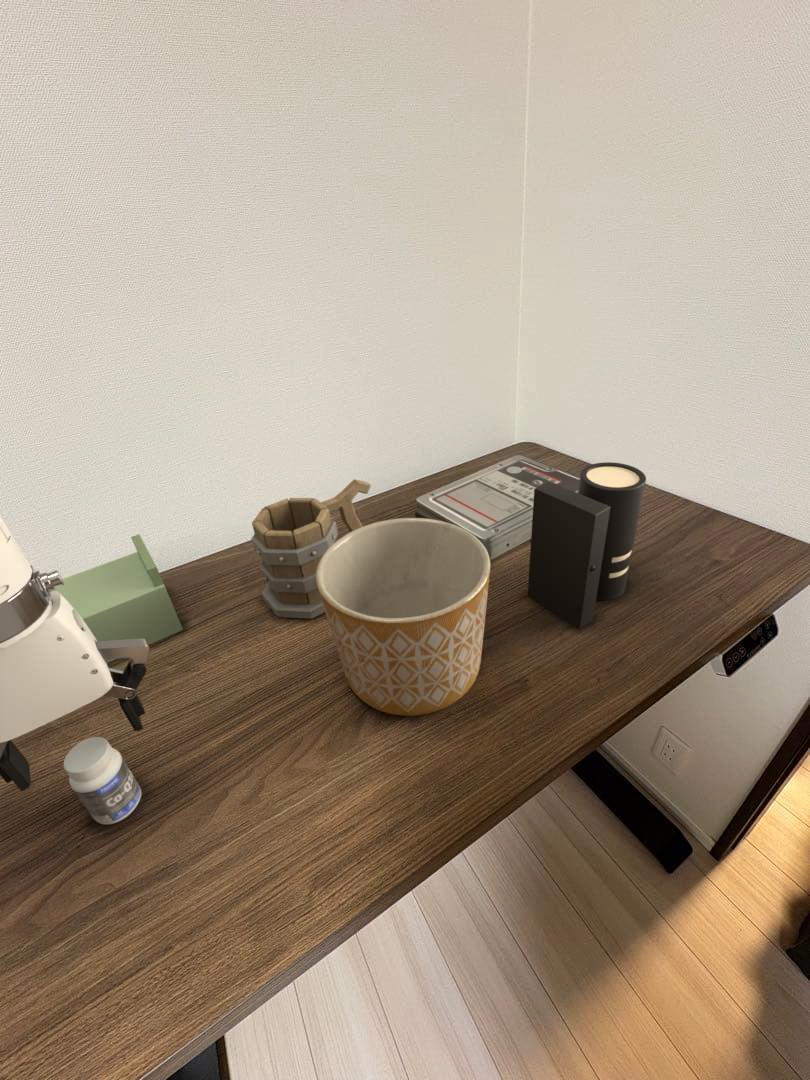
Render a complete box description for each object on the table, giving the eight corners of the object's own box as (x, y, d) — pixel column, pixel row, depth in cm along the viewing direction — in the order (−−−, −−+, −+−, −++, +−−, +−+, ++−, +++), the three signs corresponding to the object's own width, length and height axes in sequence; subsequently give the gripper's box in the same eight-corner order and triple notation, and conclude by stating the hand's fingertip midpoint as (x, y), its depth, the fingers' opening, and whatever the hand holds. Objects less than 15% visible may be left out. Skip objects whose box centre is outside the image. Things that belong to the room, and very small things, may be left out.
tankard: (289, 631, 75) (265, 544, 67) (254, 589, 84) (229, 507, 76) (402, 574, 84) (394, 490, 76) (360, 541, 93) (348, 464, 85)
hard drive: (415, 520, 98) (413, 499, 95) (518, 473, 110) (519, 453, 108) (484, 563, 85) (484, 540, 82) (592, 505, 97) (595, 483, 95)
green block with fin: (78, 676, 71) (40, 613, 65) (68, 628, 80) (33, 568, 73) (183, 629, 77) (157, 568, 71) (162, 590, 86) (138, 532, 80)
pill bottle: (125, 828, 53) (91, 779, 48) (83, 823, 54) (46, 774, 49) (151, 784, 57) (122, 734, 52) (112, 779, 58) (80, 730, 53)
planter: (309, 665, 69) (283, 563, 60) (419, 597, 79) (411, 501, 70) (403, 762, 57) (388, 651, 47) (521, 667, 66) (527, 560, 57)
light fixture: (641, 586, 77) (665, 477, 67) (581, 630, 71) (597, 516, 61) (586, 558, 84) (600, 454, 74) (526, 595, 78) (532, 487, 68)
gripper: (101, 546, 47) (166, 679, 56) (-146, 635, 39) (-24, 771, 49) (117, 586, 42) (186, 725, 51) (-166, 697, 34) (-24, 837, 43)
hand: (83, 748), depth 50 cm, fingers open, 9 cm apart
